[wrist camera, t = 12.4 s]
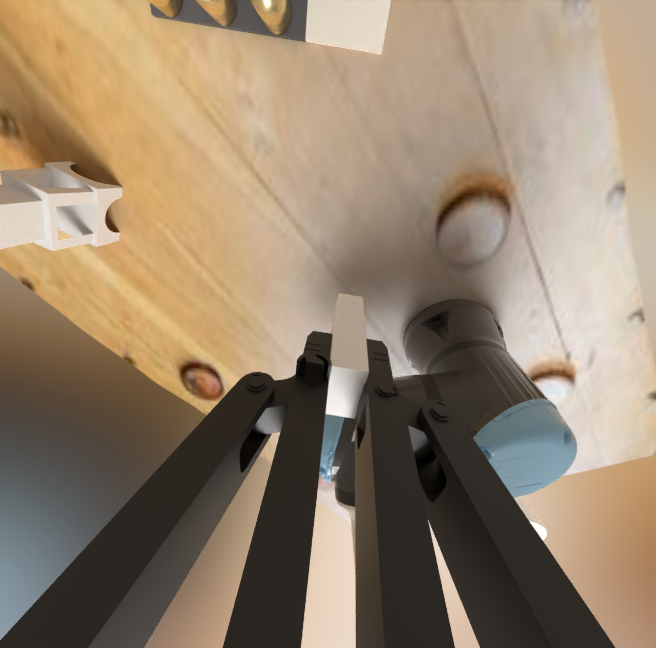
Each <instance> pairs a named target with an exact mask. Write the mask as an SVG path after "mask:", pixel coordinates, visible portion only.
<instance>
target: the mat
mask: <svg viewBox="0 0 656 648" xmlns="http://www.w3.org/2000/svg"><path fill="white" fill-rule="evenodd" d="M289 2H290V5H291V9H292V20H291V24H290V26H289V28H288V30H287V31H286V32H285V33H283V34H281V35H275V34H273V33H271V32H270V31H269V30H268V29H267V27H266V25H265V24H264V22H263V21H262V19H261V17H260V16H259V14H258V13H257V11H256V9H255V8H254V6H253V5H252V3H251V1H250V0H237V6H238V10H237V16H236V19H235V20H234V22H233V23H232V24H231V25H229V26H222V25H220V24H218V23H217V22H216V21H215V20H214V19H213V18H212V17H211V16H210V15H209V14H208V13H207V12H206V11H205V9H204V8H203V7H202V6H201V5H200V4H199V3H198V2H197V1H196V0H183V8H182V11H181V13H180V14H179V15H178V16H177V17H168V16H166V15H165V14H164V13H162V12H161V11H160V10H159V9H157V8H156V7H155V6H154V5H152V4H151V3H150V6H151V12H152V15H154V16H155V17H158V18H164V19H170V20H176V21H182V22H188V23H194V24H200V25H206V26H212V27H219V28H225V29H231V30H237V31H243V32H249V33H255V34H261V35H267V36H273V37H279V38H285V39H291V40H297V41H303V42H309V43H315V44H321V45H327V46H333V47H339V48H345V49H351V50H357V51H363V52H369V53H375V54H382V49H383V43H384V37H385V32H386V26H387V21H388V15H389V9H390V4H391V0H289Z"/></svg>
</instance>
